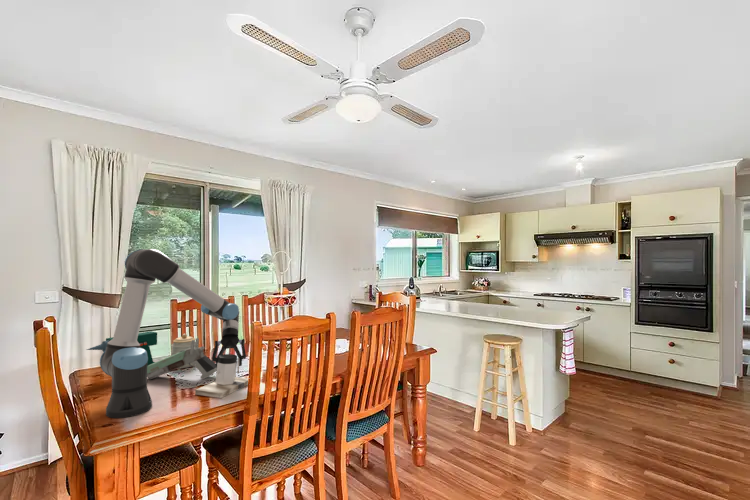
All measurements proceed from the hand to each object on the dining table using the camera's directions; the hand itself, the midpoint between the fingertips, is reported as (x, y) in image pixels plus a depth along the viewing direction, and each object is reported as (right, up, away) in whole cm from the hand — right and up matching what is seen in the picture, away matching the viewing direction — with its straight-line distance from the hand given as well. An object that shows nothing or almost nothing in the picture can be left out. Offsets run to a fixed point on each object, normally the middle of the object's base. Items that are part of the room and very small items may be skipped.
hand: (228, 372), depth 170 cm
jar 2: (-2, -5, +2) cm, 6 cm away
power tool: (-61, -8, +18) cm, 64 cm away
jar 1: (-40, -8, +38) cm, 56 cm away
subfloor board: (-2, -7, 0) cm, 8 cm away
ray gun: (-30, -8, +16) cm, 34 cm away
